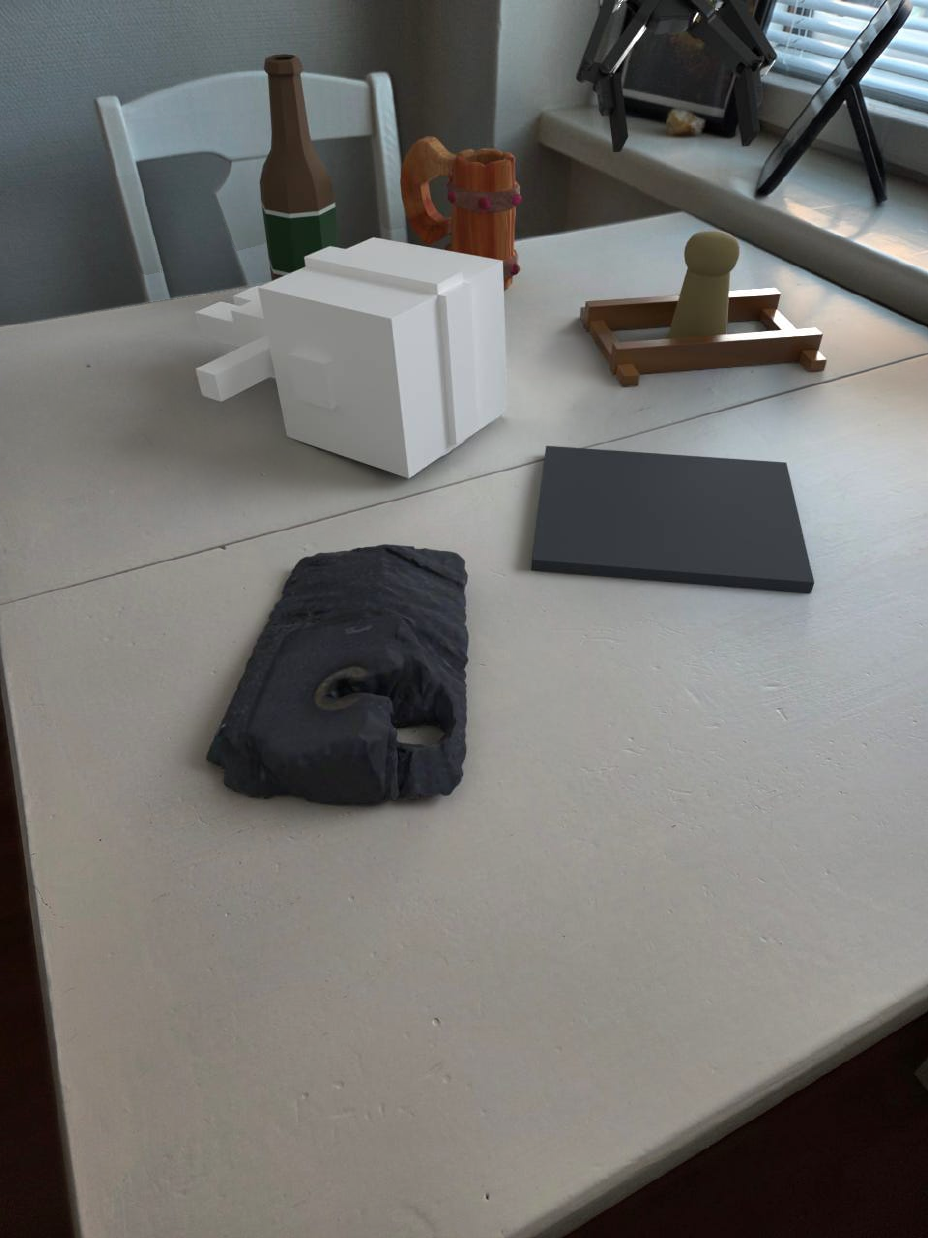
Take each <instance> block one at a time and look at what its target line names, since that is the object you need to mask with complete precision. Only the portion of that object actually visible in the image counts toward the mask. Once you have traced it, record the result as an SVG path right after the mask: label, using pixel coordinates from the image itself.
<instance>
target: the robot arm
mask: <svg viewBox="0 0 928 1238" xmlns="http://www.w3.org/2000/svg"><path fill="white" fill-rule="evenodd" d="M709 1H710V2H711V3H712V4H711V3H710V2H709ZM622 3H625V5H626V6H627V7H628V9H629V10H630V11H631V12H632V13H633V14H634V16H633V18H632V19H631V21H630V22H629V23H628V25H627V27H626V28H625V29H624V30H623V32H622V34H621V35H620V37H618V39H617V40H616V42H615V43H614V45H613V46H612V48H611V49H610V50H609V52H608V53H607V55H606V56H605V57H604V59H603V60H602V62H598V61H596V59H597V55H598V53H599V50H600V47H601V45H602V41H603V39H604V36H605V33H606V31H607V28H608V26H609V23H610V20H611V18H612V15H613V13H615V11H618V10H619V9H620V6H621V5H622ZM716 11H718V15H719V16H717V14H716ZM697 16H700V19H699V20H698V21H697V20H696V18H697ZM719 17H720V18H721V19H720V18H719ZM646 29H647V30H649V31H650V32H652V33H653V35H662V34H666V33H670V34H677V35H678V34H680V35H681V34H684V31H686V33H688V35H690V37H691V38H693V39H694V40H700V41H701V42H702V43H703V44H704V45H705V46H706V47H707V48H708V49H709V50H710V52H711V53H712V54H713V55H714V56H716V57H717V58H718V59H719V60H720V61H721V63H722V64H723V65H724V66H726V67H727V69H729V70H730V72H732V73H733V74H734V75H735V77H736V78H737V79H736V81H735V83H734V84H733V90H734V99H735V106H736V112H737V121H738V127H739V135H740V143H741V147H750V145H751V144H752V143H753V141H754V140H755V139H756V138H757V136H758V134H760V132H761V126H760V120H759V113H758V108H759V107H760V106H761V104H762V103H763V99H764V93H763V85H762V79H761V78H764V77H765V76H766V75H767V74H768V72H769V71H770V70H771V68H772V67H773V65H774V63H775V62H776V61H777V59H778V54H777V52H776V51H775V49H774V48H773V46H772V44H771V43H770V41H769V40H768V37H767V36H766V35H765V33H764V32H763V30H762V29H761V27H760V25H759V24H758V22H757V20H756V19H755V17H754V16H753V14H752V13H751V11H750V10H749V8H748V7H747V5H746V3H745V2H744V1H743V0H597V18H596V20H595V23H594V25H593V28H592V30H591V34H590V37H589V39H588V42H587V45H586V47H585V50H584V52H583V55H582V58H581V61H580V63H579V66H578V68H577V71H576V74H575V79H576V80H577V82H578V83H582V84H583V83H586V82H589V83H591V85H592V86H591V89H592V91H593V92H594V93H595V94H596V97H597V105H598V112H599V114H600V116H601V117H608V120H609V129H610V138H611V145H612V146H611V147H612V152H613V153H621V152H622V150H623V148H624V146H625V144H626V143H627V140H628V138H629V130H628V122H627V114H626V107H625V99H624V98H625V97H624V91H623V83H622V76H621V72H616V71H617V69H618V68H619V67H620V65H621V64H622V62H623V61H624V59H625V58H626V57H627V55H628V54H629V52H630V51H631V50H632V49H633V47H634V46H635V44H636V42H638V41H639V40H640V38H641V37H642V35H643V34H644V32H645V31H646Z"/></svg>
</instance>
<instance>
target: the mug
mask: <svg viewBox="0 0 928 1238" xmlns="http://www.w3.org/2000/svg"><path fill="white" fill-rule="evenodd" d="M439 176H443V177H446V178H449V180H448V181H447V183H446V189H447V196H446V198H447V201H448V202H449V203H450V204H451V216H443V215H442V214H441V213H439V212H438V210H437V209H436V207H435V205H434V203H433V201H432V198H431V191H430V185H429V182H430V181H431V180H433V179H435V178H437V177H439ZM399 180H400V181H399V184H400V195H401V200H402V204H403V205H402V206H403V208H404V212H405V213H404V214H405V216H406V218H407V220H408V222H409V224H410V226H411V228H412V229H413V231H414V232H415V234H416V236H417V237H418V238H419V239H420V241H421V242H422V243H423V244H424V245H425V246H426V247H429V246H431V245H432V246H433V244H435V243H437V242H439V241H441V240H442V239H443V238H444V237H446V236H449V235H450V243H447V244H445V245H444V250H446V251H452V252H457V253H463V254H468V255H474V256H479V257H485V258H490V259H496V260H501V261H503V282H504V291H507V290H508V289H509V288H510V287H511V285H512V284H513V281H514V280H513V277H514V276H517V275H518V274H519V273H520V271H521V267H520V265H519V264H518V262H519V254H518V251H517V250H516V248H515V232H516V231H515V227H516V226H515V225H516V217H517V215H516V213H517V211H516V210H517V209H516V206H518V205H520V204H521V203H522V201H523V198H522V195H521V194H520V193H521V191H520V190H521V186H520V184H519V182H518V181H517V180H516V157H515V156H514V155H513V154H512V153H511V152H509V151H506V152H502V151H501V150H499V149H497V148H488V147H483V148H479V150H477V151H475V150H474V149H471V148H467V149H464V150H461V151H460V152H458V153H457V154H455V153H452V152H451V151H449V150H448V149H447V148H446V147H445V146H444V145H443V144H442V143H441V141H440V140H439V139H438V138H437V137H435V136H430V135H429V136H428V135H427V136H424V137H423V138H420V139H418V140H416V141H415V142H413V144H412V145H411V146H410V148H409V149H408V151H407V152H406V154H405V157H404V159H403V163H402V165H401V168H400V177H399Z"/></svg>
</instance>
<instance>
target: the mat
mask: <svg viewBox="0 0 928 1238" xmlns="http://www.w3.org/2000/svg"><path fill="white" fill-rule="evenodd" d="M789 472H790V471H789V468H788V463H787V462H786V461H770V460H769V461H768V460H755V459H743V458H727V457H713V456H699V455H696V456H695V455H685V454H672V453H670V454H669V453H657V452H656V453H655V452H641V451H627V450H616V449H615V450H614V449H598V448H586V447H585V448H582V447H572V446H571V447H570V446H568V447H567V446H558V445H557V446H556V445H546V446H545V451H544V460H543V467H542V476H541V483H540V491H539V500H538V508H537V515H536V522H535V532H534V540H533V547H532V554H531V555H532V556H531V565H530V566H531V567H530V570H531V571H538V572H549V573H562V574H572V575H586V576H587V575H588V576H598V577H599V576H600V577H611V578H623V579H636V580H646V581H647V580H648V581H659V582H671V583H672V582H673V583H682V584H683V583H684V584H695V585H706V586H707V585H708V586H719V587H732V588H746V589H755V590H770V591H780V592H781V591H782V592H793V593H803V594H804V593H805V594H811V593H812V591H813V588H814V585H815V579H814V574H813V571H812V566H811V563H810V559H809V554H808V550H807V544H806V542H805V537H804V532H803V528H802V524H801V520H800V515H799V510H798V506H797V502H796V498H795V494H794V490H793V485H792V480H791V477H790V473H789Z"/></svg>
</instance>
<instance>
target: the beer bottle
mask: <svg viewBox="0 0 928 1238" xmlns="http://www.w3.org/2000/svg"><path fill="white" fill-rule="evenodd" d="M301 61H302V60H301V59H300V58H299V57H298V56H296V55H294V54H288V53H287V54H285V53H284V54H283V53H282V54H274V55H271V56H268V57H266V58H264V65H263V71H264V72H265V73H266V74H267V83H268V84H267V85H268V98H269V99H268V100H269V114H270V115H269V116H270V129H271V130H270V131H271V135H270V136H271V137H270V150H269V152H268V154H267V156H266V158H265V160H264V163H263V164H262V168H261V174H260V178H259V190H260V191H259V193H260V203H261V211H262V219H263V227H264V233H265V241H266V248H267V249H266V250H267V257H268V263H269V272H270V278H271V281H274V280H276V279H278V278H280V277H283V276H285V275H287V274H290V273H292V272H294V271H297V270H299V269H301V268H304V267H306V266H305V259H304V257H305V256H308V255H310V254H312V253H315V252H317V251H320V250H322V249H324V248H327V247H329V246H332V247H337V248H340V244H339V232H338V231H339V230H338V219H337V207H336V200H335V199H336V198H335V193H334V186H333V182H332V180H331V177H330V175H329V172H328V170H327V167H326V166H325V164H324V163H323V161H322V159H321V158H320V157H319V156H318V154H317V153H316V151H315V150H314V146H313V142H312V138H311V133H310V128H309V122H308V115H307V114H308V113H307V108H306V103H305V95H304V89H303V82H302V73H303V71H304V68H303V65H302V62H301Z"/></svg>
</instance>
